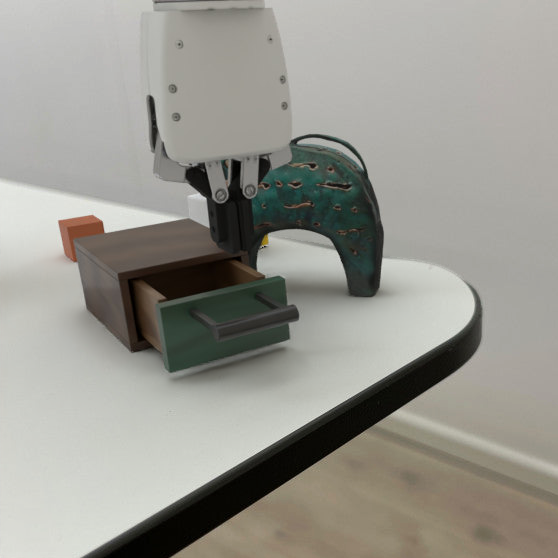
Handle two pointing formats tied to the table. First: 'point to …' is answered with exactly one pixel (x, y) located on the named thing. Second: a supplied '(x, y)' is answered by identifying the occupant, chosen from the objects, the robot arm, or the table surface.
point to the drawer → (210, 312)
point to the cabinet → (139, 267)
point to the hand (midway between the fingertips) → (233, 248)
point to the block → (78, 231)
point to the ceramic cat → (323, 208)
